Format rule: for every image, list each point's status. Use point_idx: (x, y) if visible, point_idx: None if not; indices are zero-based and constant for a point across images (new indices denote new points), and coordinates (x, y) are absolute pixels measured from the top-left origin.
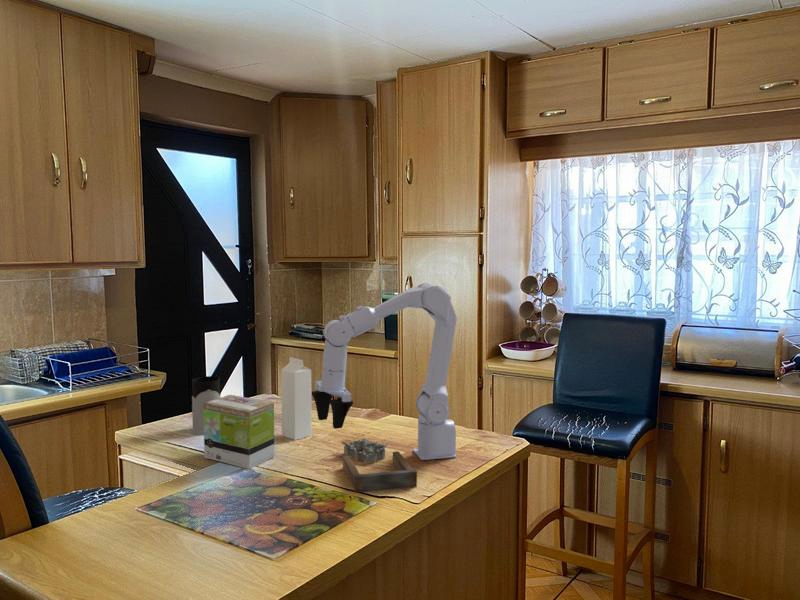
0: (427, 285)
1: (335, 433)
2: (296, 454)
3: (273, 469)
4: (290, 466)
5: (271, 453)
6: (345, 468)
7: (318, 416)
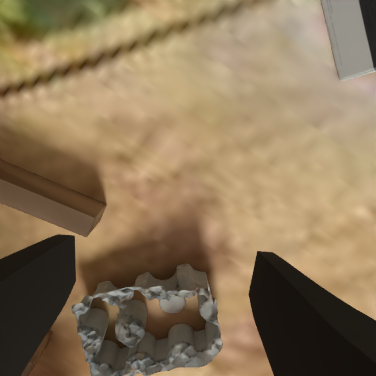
0: None
1: None
2: (308, 158)
3: (243, 11)
4: (228, 78)
5: (345, 59)
6: (57, 189)
7: (272, 258)
